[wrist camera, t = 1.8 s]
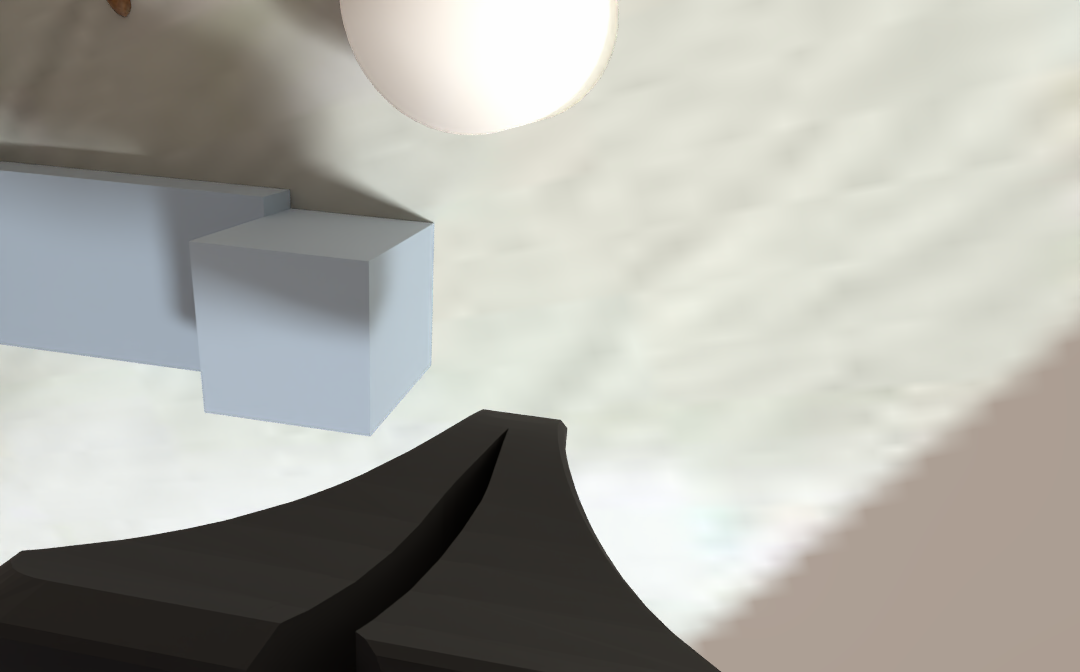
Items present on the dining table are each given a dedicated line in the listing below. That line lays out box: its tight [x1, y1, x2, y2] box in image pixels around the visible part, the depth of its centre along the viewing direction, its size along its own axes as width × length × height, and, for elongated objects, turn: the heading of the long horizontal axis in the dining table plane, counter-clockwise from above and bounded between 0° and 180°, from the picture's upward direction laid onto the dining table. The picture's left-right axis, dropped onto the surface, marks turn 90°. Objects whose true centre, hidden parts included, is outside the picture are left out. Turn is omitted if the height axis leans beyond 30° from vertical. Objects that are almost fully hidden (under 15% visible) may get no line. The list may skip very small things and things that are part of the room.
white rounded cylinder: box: [340, 0, 619, 135], centre depth 15 cm, size 5×5×5 cm
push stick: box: [0, 161, 434, 436], centre depth 19 cm, size 5×16×4 cm, turn 86°
